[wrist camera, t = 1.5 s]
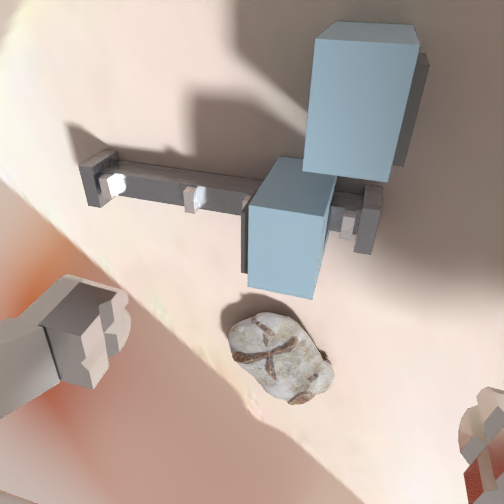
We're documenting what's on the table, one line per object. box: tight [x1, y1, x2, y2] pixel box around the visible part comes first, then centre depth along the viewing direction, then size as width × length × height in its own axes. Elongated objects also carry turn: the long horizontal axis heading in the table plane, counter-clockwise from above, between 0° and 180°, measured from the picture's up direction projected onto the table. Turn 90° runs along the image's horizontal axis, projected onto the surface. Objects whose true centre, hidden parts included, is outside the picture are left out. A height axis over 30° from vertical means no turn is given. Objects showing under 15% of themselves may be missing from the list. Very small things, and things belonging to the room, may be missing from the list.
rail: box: [78, 149, 382, 255], centre depth 31 cm, size 23×4×4 cm, turn 89°
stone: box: [228, 312, 334, 405], centre depth 41 cm, size 12×9×3 cm
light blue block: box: [302, 21, 429, 182], centre depth 22 cm, size 5×6×8 cm
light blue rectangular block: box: [241, 156, 337, 300], centre depth 28 cm, size 5×6×8 cm
